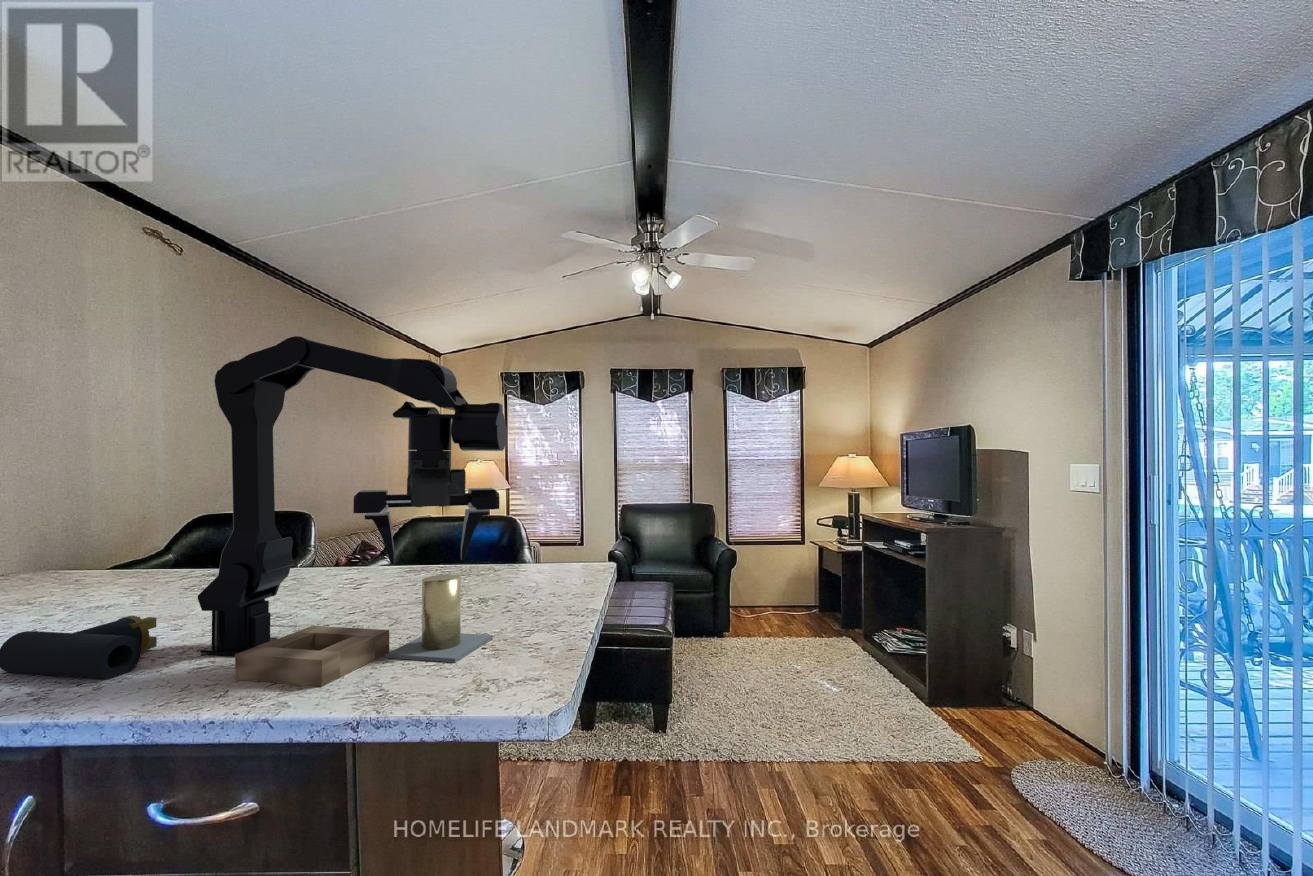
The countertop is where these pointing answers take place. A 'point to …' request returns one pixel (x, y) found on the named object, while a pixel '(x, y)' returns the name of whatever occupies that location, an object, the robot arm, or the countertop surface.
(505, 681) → the countertop surface
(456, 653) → the mat
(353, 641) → the housing
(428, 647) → the end plug
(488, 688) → the countertop surface
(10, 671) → the pipe connector
